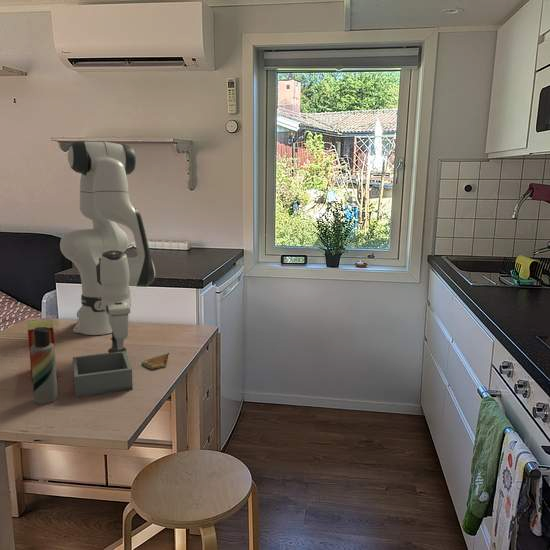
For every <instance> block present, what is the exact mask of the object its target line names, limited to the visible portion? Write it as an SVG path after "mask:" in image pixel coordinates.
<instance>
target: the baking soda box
mask: <svg viewBox="0 0 550 550" xmlns="http://www.w3.org/2000/svg"><path fill="white" fill-rule="evenodd" d="M37 327H47V328H48V329H49V334H50V343H52V344H54V345H55V333H54V324H53V318H46V319H45V318H44V319H35V320H28V323H27V335H28V337H27V338H28V348H29V349H28V350H29V360H30V373H31V374H30V375H31V383H33V377H32V364H31V351H30V348H31V346H33V345H34V337H33V331H34V329H35V328H37ZM54 349H55V350H56V347H55V346H54ZM55 363H56V360H55ZM56 364H57V363H56ZM56 377H57V375H56Z"/></svg>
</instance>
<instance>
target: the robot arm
mask: <svg viewBox="0 0 550 550" xmlns="http://www.w3.org/2000/svg"><path fill="white" fill-rule="evenodd" d="M67 161H68V163H69V168H70V169H71V170H73V171H74V172H76V173H78V174H80V179H79V181H80V182H79V210H80V213H81V214H82V215H83V216H84V217H86V218H87V219H89V220H91V221H92V222H91V223H92V224H93V225H92V228H85V229H84V228H83V229H76V230H73V231H69V232H66V233H64V234H63V235H62V236H61V239H60V242H59V248H60V252H61V254H62V255H63V256H64V257H65V259H68V261H71V263H73V264H74V266H75V267H76V269H77V270H78V273H79V276H80V282H81V292H82V293H81V295H80V297H81V298H80V301H81V306H80V308H79V309H78V311H76V317H77V322H76V324H75V325H74V327H73V329H72V330H73V331H72V332H73V333H76V334H77V333H78V334H83V335H87V336H88V335H89V336H100V335H107V334H112V332H113V334H114V337H115V339H116V340H117V349H118V350H121V349H123V347H124V341H125V339H127V338H128V336H129V314H131V307H132V303H131V300H132V299H131V296H132V295H131V290H130V287H141V288H147V287H148V286H149V285H151V284H152V283H153V282H154V281H155V278H156V268H155V265H154V262H153V259H152V257H151V256H152V255H151V252H150V247H149V243H148V238H147V234H146V231H145V230H146V229H145V225H144V222H143V218H142V215H141V212H140V210H139V209H137V208H135V207H134V206H133V204H132V202H131V200H130V196H129V193H130V192H129V182H128V176H129V175H131V173H133V172H134V170H135V169H136V164H137V157H136V152H135V150H134V148H133V147H132V146H130V145H127V144H124V143H121V144H119V143H115V142H111V141H110V142H109V141H84V140H79V141H73V142H72V143H70V145H69V149H68V151H67ZM118 224H119V225H118ZM120 225H122V226H124V227H126V228H128V229H129V230H130V231H131V233H132V235H133V238H134V244H135V247H136V252H137V256H135V257H134V256H133V257H128V255H127V254H126V253H125V252H126V251H127V249H128V247H129V238H128V235H127V233H126V232H125V230H124V229H122V228H121V227H120Z"/></svg>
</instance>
